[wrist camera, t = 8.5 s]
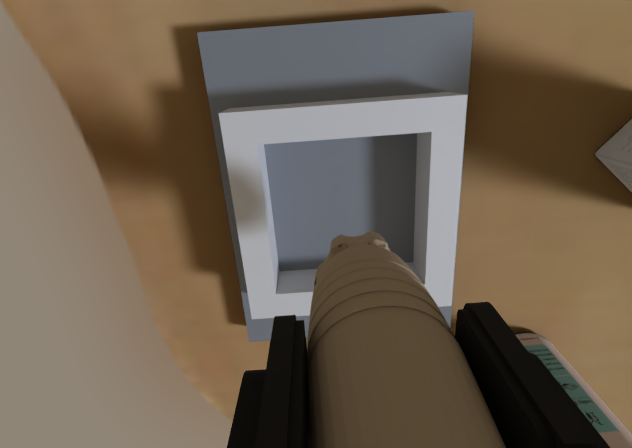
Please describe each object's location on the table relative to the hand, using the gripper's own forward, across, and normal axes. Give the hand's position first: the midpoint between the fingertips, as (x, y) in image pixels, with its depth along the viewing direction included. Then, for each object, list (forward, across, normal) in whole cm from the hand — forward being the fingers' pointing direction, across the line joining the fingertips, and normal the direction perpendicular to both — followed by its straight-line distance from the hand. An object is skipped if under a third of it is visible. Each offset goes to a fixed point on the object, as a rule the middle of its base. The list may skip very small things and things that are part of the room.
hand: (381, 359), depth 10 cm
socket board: (+14, 0, 0) cm, 14 cm away
